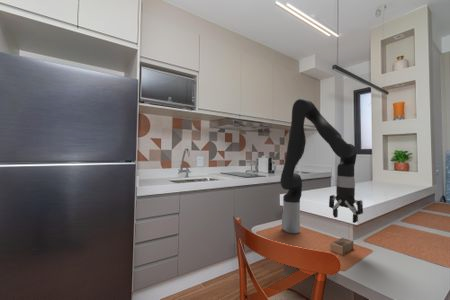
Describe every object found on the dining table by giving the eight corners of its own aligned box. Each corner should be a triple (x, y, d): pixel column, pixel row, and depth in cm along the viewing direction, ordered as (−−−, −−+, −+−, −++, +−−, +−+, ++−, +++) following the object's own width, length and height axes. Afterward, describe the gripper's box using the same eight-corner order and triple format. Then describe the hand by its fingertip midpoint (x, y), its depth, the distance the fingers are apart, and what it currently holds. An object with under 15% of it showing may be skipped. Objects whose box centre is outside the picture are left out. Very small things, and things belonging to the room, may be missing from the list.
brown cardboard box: (342, 244, 102) (330, 250, 95) (342, 237, 102) (330, 243, 95) (353, 248, 97) (341, 255, 91) (353, 241, 97) (341, 247, 91)
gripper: (326, 184, 101) (326, 217, 101) (358, 188, 90) (357, 226, 90) (334, 182, 106) (333, 214, 106) (365, 187, 94) (365, 222, 94)
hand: (344, 219), depth 98 cm, fingers open, 8 cm apart
